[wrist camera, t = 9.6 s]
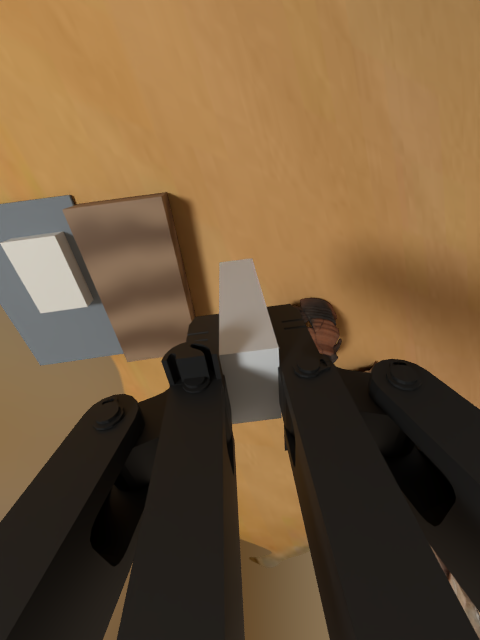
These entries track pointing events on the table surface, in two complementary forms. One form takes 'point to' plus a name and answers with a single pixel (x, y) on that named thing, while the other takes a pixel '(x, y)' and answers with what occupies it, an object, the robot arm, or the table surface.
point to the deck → (136, 270)
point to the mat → (59, 326)
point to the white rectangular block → (48, 271)
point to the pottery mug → (321, 325)
